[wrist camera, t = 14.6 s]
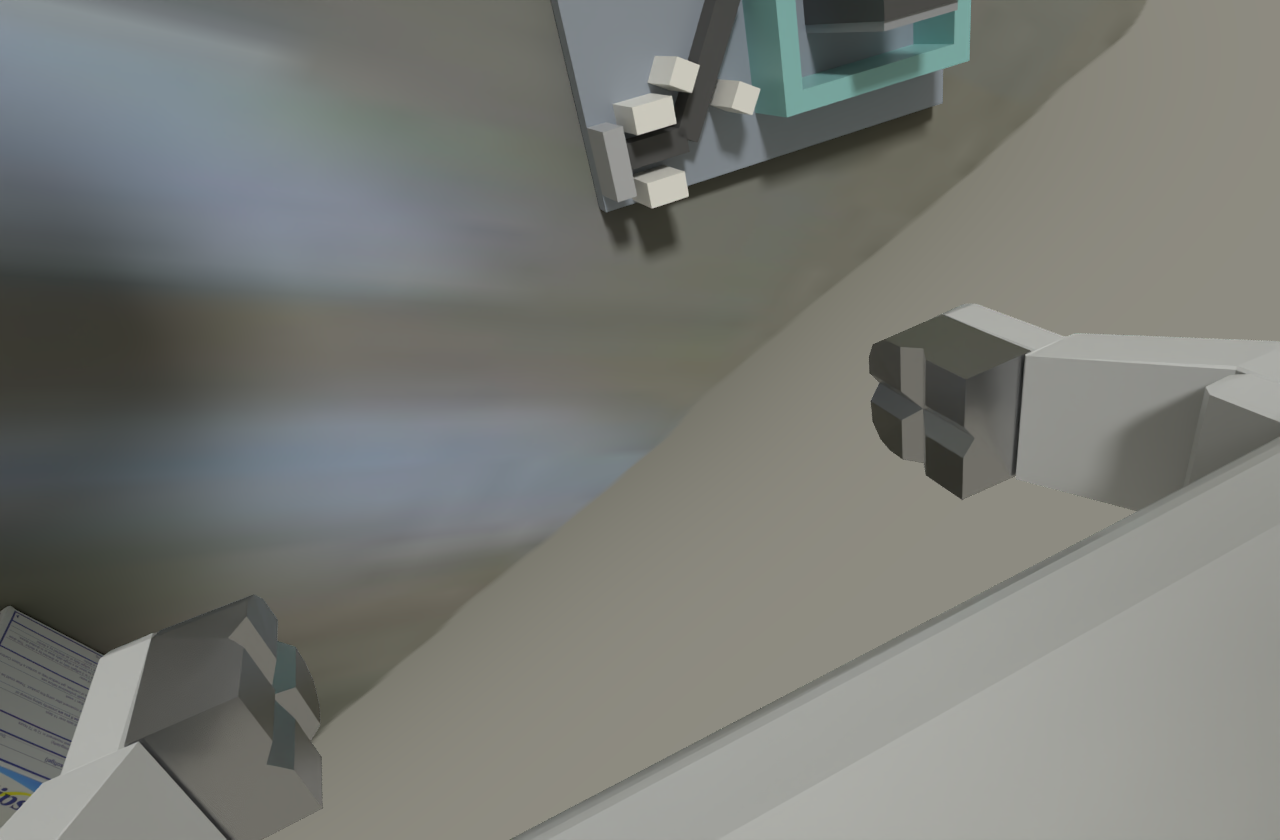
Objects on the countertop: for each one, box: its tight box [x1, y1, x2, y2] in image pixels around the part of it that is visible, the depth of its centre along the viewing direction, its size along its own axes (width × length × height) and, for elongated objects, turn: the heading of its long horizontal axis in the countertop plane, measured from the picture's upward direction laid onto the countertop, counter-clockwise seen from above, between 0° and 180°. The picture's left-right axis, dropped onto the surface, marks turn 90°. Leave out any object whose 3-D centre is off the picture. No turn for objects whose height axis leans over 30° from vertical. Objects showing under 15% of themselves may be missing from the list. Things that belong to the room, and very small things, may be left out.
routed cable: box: [625, 0, 741, 170], centre depth 35 cm, size 4×10×1 cm, turn 142°
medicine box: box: [0, 606, 104, 828], centre depth 33 cm, size 8×4×9 cm, turn 33°
